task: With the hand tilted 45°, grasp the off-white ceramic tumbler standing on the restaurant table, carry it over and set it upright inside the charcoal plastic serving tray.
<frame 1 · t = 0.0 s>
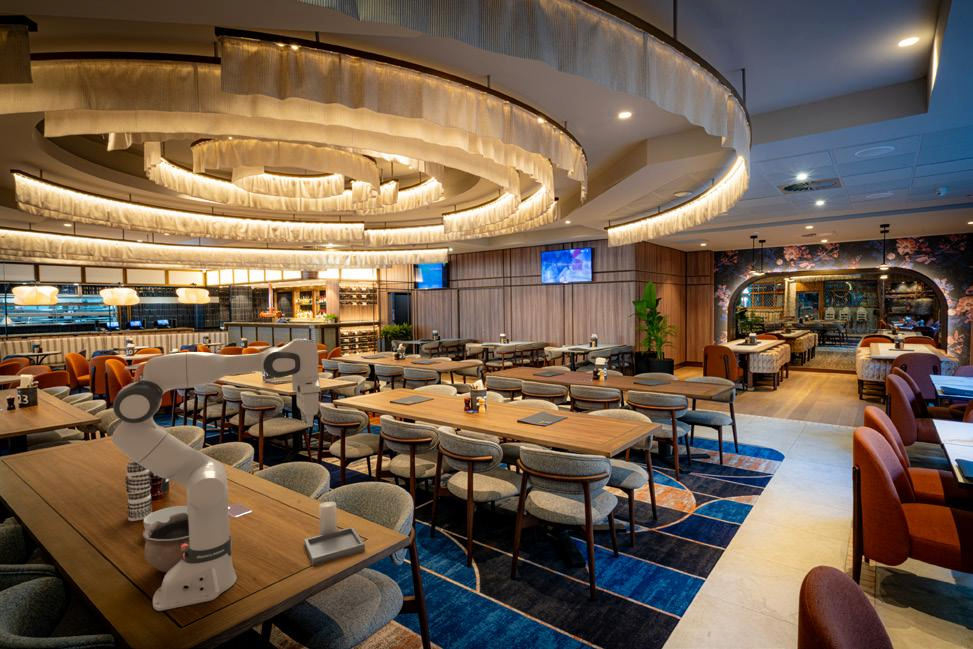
hand: (307, 423, 164), 48 cm above the table, tool pointing down, fingers open, 8 cm apart
ceramic bowl: (184, 566, 161), on the table
serving tray: (334, 548, 171), on the table
tumbler: (328, 532, 184), on the table
cereal bowl: (170, 531, 187), on the table
decorative candle: (140, 516, 202), on the table
mobile phone: (236, 511, 206), on the table
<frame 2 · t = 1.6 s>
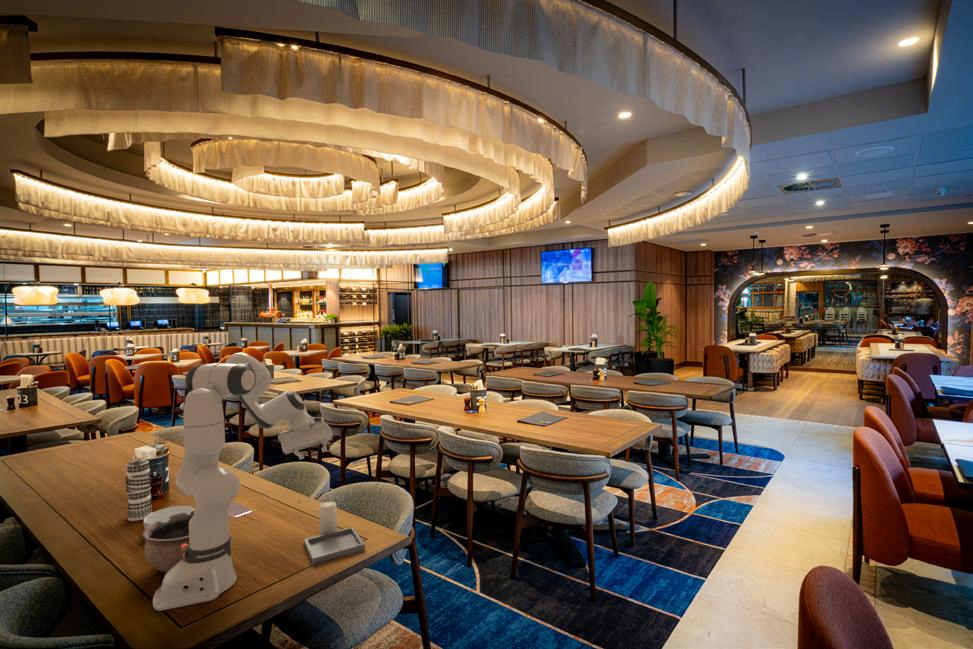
hand: (313, 454, 189), 29 cm above the table, tool tilted 45°, fingers open, 8 cm apart
nothing on the table moved.
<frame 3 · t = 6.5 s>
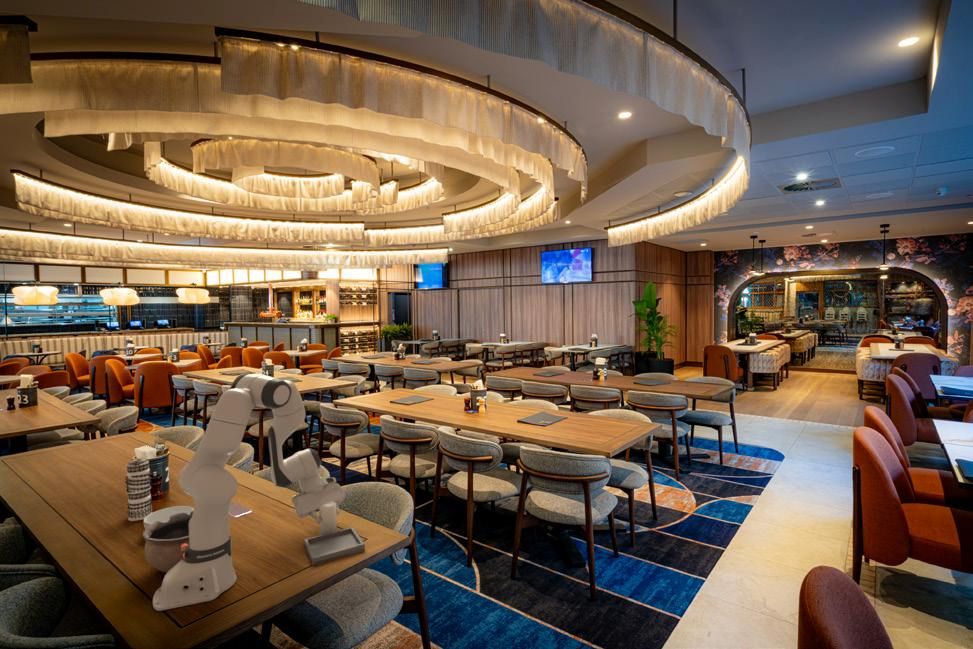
hand: (329, 518, 183), 6 cm above the table, tool tilted 45°, fingers closed on tumbler, 6 cm apart
tumbler: (328, 532, 184), on the table, touching gripper
everything else where it was.
when the fingers open (8 cm above the table, at t = 12.0 s): tumbler drops 2 cm, resting on serving tray.
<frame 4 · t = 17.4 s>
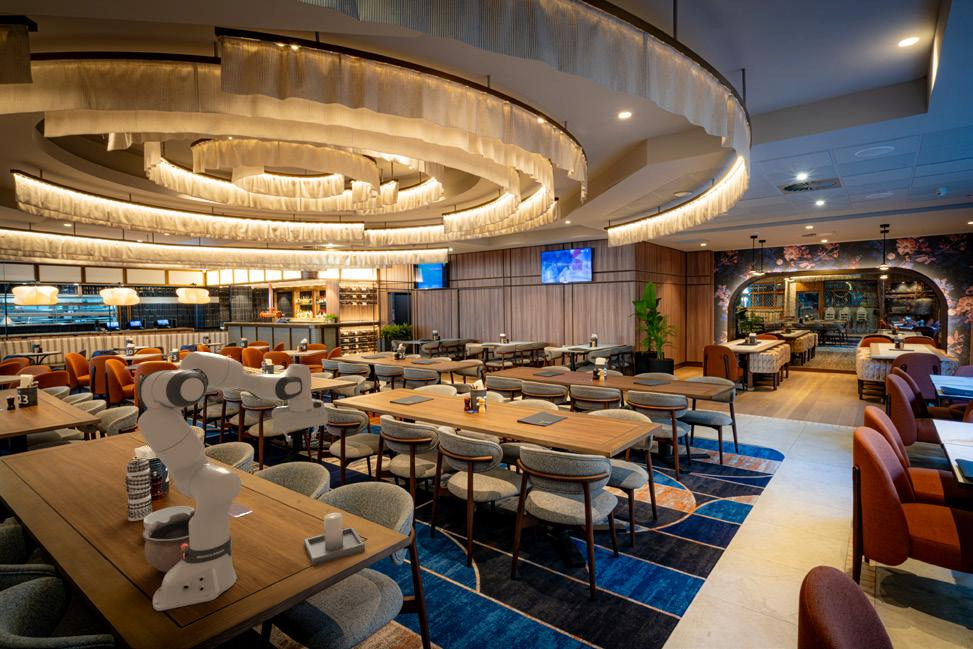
hand: (301, 439, 183), 37 cm above the table, tool pointing down, fingers open, 8 cm apart
tumbler: (334, 545, 171), point 1 cm above the table, touching serving tray
everything else where it was.
at the end: tumbler inside the target area on the serving tray (0.1 cm from its centre), point 1.0 cm above the serving tray's base; tumbler tilted 0°; the gripper is holding nothing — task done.
